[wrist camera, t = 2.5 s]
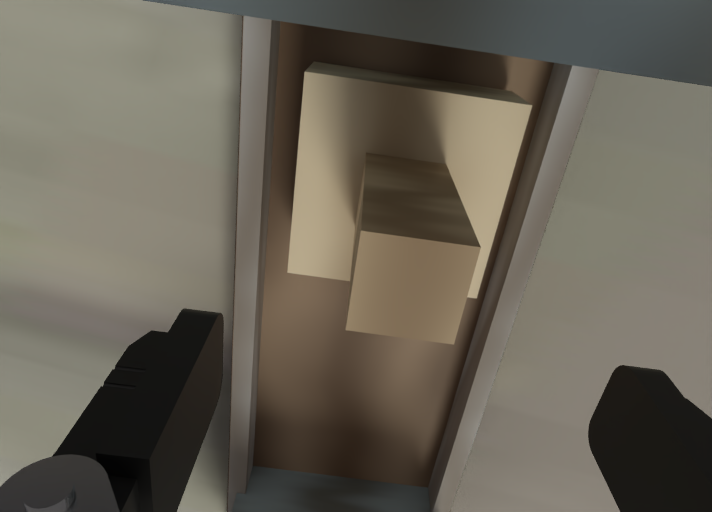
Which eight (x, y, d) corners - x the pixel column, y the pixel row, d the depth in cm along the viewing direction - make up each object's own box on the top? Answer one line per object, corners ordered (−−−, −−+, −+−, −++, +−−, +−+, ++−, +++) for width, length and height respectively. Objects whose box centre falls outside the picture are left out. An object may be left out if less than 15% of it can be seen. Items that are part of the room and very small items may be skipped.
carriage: (512, 90, 20) (616, 164, 12) (465, 264, 24) (517, 422, 15) (314, 61, 20) (264, 113, 11) (297, 241, 24) (250, 388, 15)
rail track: (639, -131, 19) (1114, -358, 7) (424, 546, 37) (448, 813, 25) (258, -193, 18) (32, -557, 6) (231, 523, 36) (160, 782, 24)
